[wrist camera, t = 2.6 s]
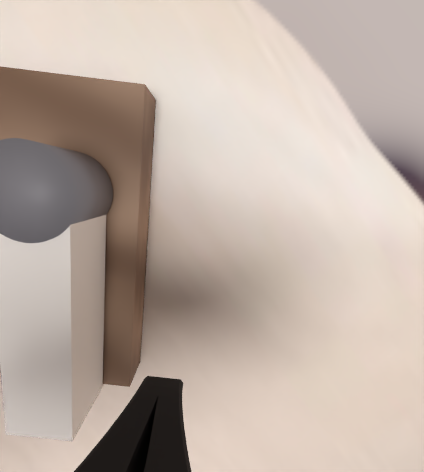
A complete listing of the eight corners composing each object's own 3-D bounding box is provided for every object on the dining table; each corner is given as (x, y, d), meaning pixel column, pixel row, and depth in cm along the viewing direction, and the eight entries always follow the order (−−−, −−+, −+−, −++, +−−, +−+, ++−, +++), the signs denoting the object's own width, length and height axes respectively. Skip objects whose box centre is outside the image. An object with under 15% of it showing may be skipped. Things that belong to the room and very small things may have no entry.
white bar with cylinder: (35, 146, 11) (-35, 131, 8) (114, 155, 11) (74, 145, 8) (44, 380, 14) (-5, 438, 11) (107, 387, 14) (76, 446, 11)
